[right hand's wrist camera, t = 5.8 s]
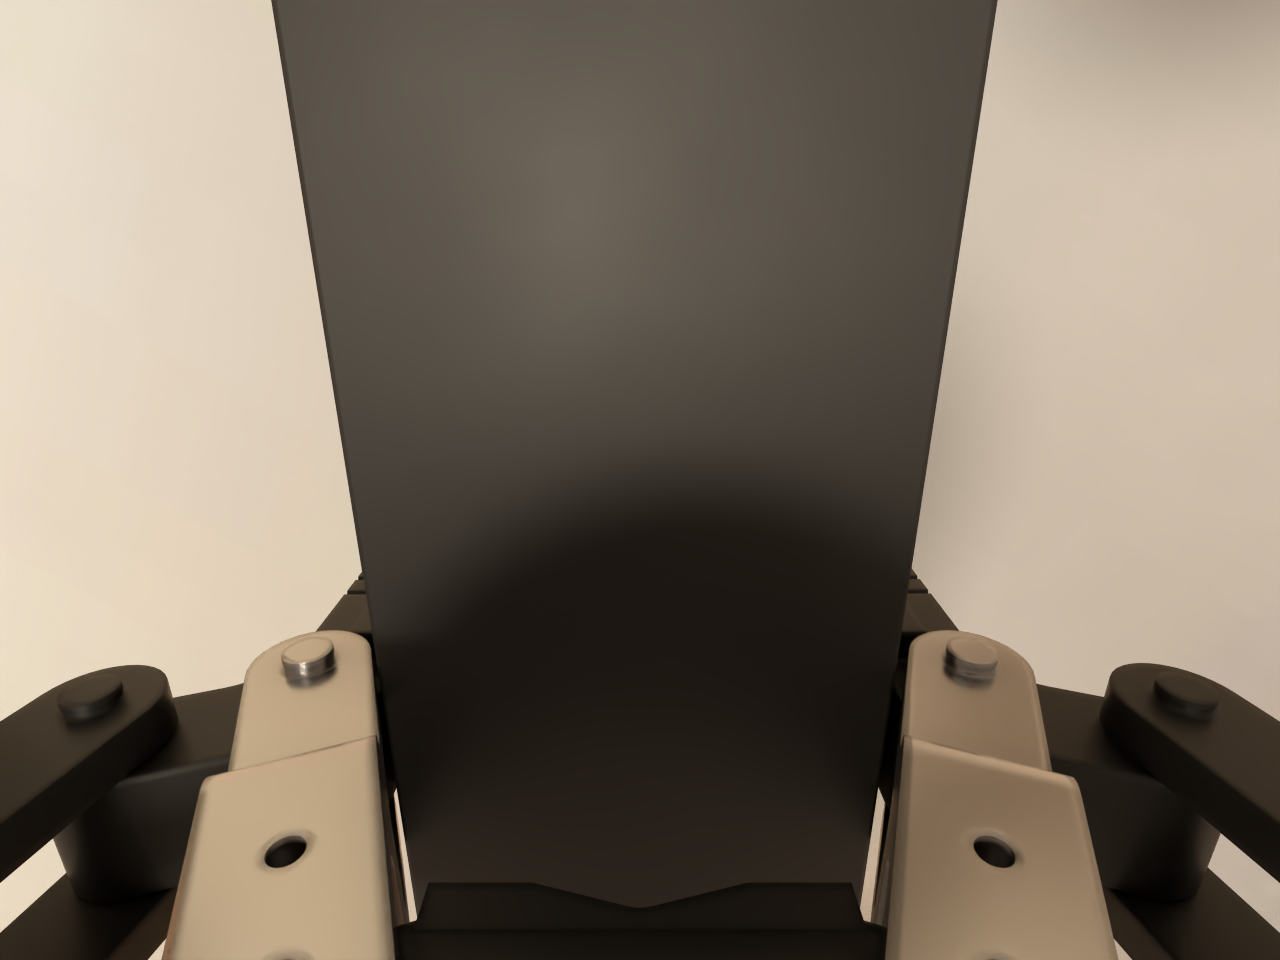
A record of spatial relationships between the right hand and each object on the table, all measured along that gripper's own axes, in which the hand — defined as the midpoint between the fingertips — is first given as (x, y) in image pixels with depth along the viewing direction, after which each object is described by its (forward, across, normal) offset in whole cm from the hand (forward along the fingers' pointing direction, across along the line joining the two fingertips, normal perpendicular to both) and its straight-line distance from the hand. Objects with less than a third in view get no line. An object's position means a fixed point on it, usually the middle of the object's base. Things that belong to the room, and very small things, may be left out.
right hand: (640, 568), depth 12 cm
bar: (+4, 0, +10) cm, 11 cm away
